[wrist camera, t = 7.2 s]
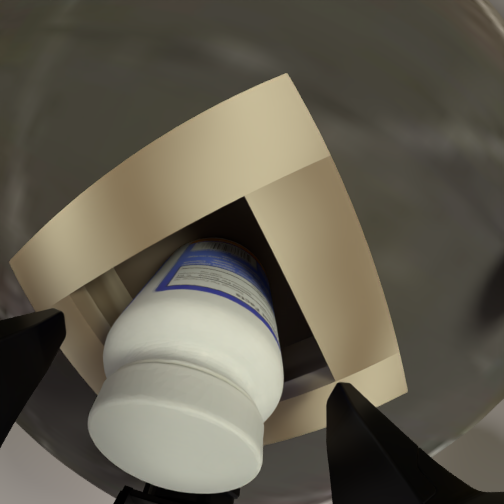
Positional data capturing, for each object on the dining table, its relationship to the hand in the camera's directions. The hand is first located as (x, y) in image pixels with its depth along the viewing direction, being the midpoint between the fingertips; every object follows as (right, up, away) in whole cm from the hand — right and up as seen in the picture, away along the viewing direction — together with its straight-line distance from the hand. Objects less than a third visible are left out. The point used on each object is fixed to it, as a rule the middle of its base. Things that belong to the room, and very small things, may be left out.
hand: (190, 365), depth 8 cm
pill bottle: (0, +2, +6) cm, 7 cm away
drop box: (0, +2, +7) cm, 7 cm away
